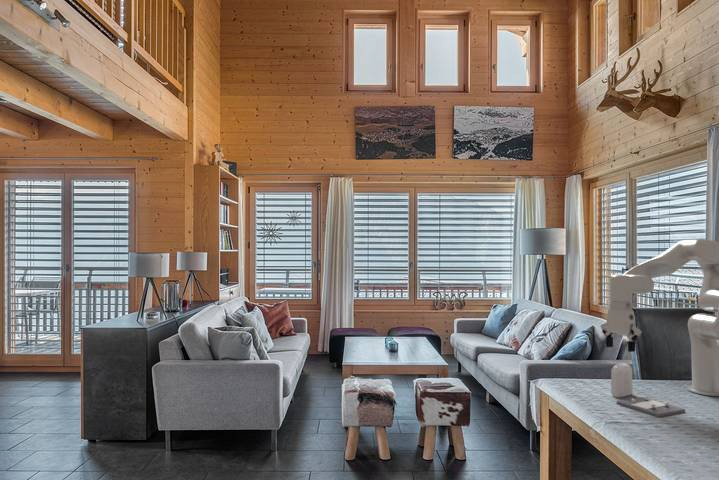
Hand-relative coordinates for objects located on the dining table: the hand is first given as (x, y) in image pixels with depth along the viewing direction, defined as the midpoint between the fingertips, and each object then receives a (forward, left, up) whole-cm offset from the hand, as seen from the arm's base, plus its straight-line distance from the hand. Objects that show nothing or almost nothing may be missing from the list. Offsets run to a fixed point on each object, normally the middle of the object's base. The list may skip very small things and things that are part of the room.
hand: (620, 349), depth 188 cm
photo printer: (0, 0, -18) cm, 18 cm away
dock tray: (+5, +15, -18) cm, 24 cm away
